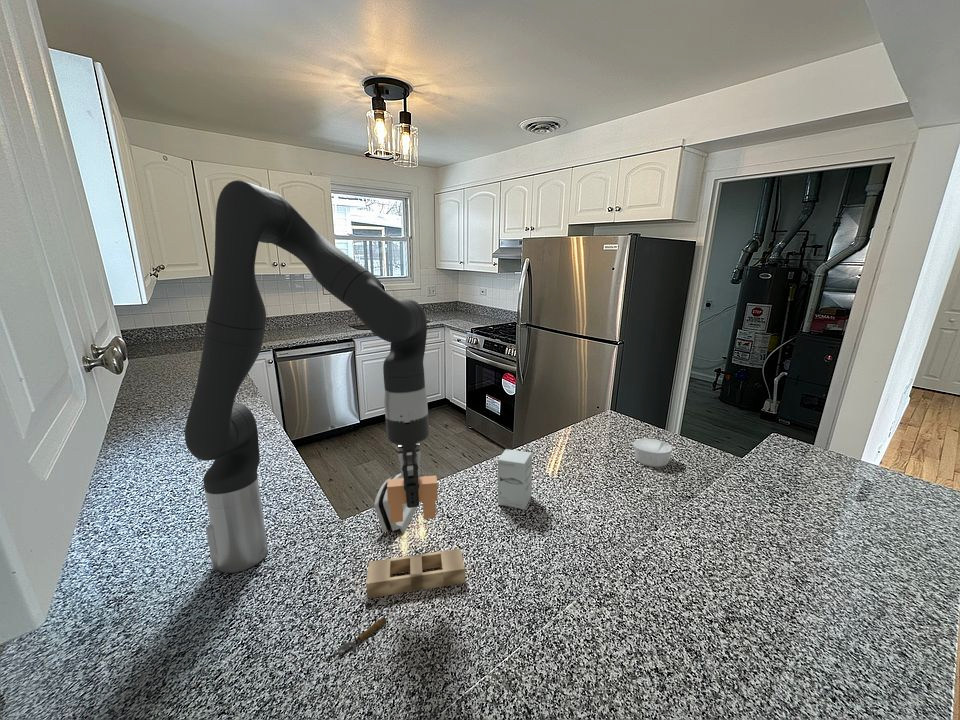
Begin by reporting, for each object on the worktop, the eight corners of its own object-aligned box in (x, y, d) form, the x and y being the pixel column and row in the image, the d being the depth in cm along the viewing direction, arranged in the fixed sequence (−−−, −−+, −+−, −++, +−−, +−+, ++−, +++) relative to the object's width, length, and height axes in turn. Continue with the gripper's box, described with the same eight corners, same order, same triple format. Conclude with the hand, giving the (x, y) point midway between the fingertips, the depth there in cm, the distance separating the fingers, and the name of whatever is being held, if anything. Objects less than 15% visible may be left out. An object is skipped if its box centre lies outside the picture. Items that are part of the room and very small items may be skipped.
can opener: (384, 620, 67) (383, 614, 67) (390, 629, 65) (390, 623, 65) (331, 654, 61) (330, 648, 61) (337, 664, 59) (336, 658, 59)
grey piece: (404, 534, 90) (387, 495, 88) (385, 539, 91) (368, 501, 89) (423, 496, 106) (409, 463, 105) (408, 500, 107) (393, 468, 106)
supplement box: (497, 505, 100) (496, 459, 98) (506, 491, 107) (505, 448, 105) (525, 510, 98) (524, 463, 95) (532, 496, 104) (532, 451, 102)
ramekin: (678, 468, 118) (679, 452, 117) (640, 469, 118) (641, 453, 117) (661, 453, 129) (662, 438, 128) (627, 454, 129) (628, 438, 128)
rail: (367, 598, 71) (366, 583, 71) (370, 575, 77) (369, 561, 76) (465, 582, 74) (464, 568, 74) (461, 561, 80) (460, 548, 80)
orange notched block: (388, 522, 71) (387, 487, 70) (388, 513, 74) (387, 479, 73) (437, 517, 73) (437, 482, 72) (436, 509, 76) (436, 475, 75)
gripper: (386, 403, 76) (393, 485, 79) (383, 427, 62) (391, 526, 66) (425, 400, 77) (430, 481, 81) (430, 423, 64) (436, 519, 67)
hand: (412, 500), depth 73 cm, fingers closed on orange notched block, 3 cm apart
